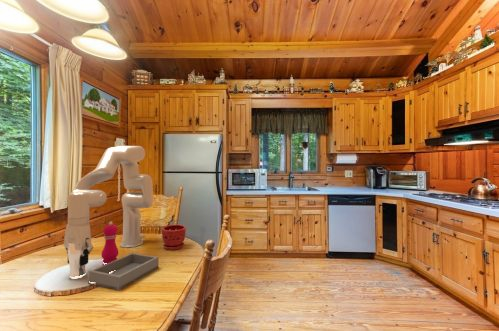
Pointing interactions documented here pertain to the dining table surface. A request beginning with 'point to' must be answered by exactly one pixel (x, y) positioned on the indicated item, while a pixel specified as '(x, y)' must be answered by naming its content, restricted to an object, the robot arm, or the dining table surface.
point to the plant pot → (173, 236)
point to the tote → (123, 271)
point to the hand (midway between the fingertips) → (77, 263)
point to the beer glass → (75, 261)
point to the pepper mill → (110, 244)
